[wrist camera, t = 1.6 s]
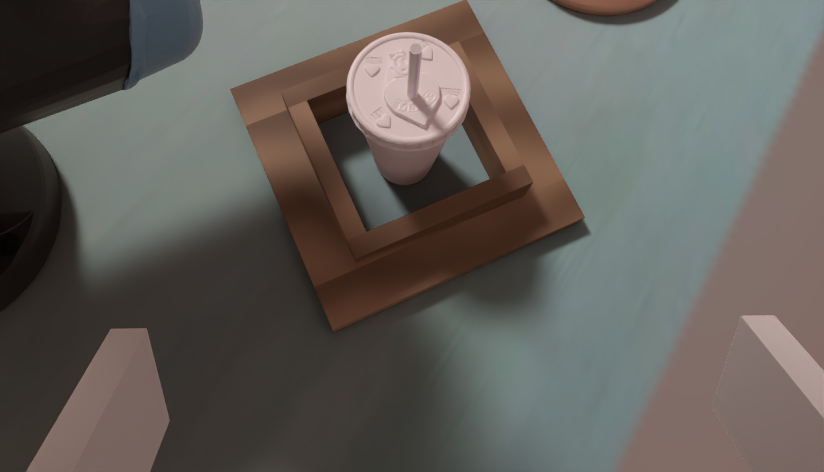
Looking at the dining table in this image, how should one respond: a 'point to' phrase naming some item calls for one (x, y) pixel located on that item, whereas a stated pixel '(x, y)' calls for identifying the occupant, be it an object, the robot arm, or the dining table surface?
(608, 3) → the coaster
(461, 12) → the cup holder
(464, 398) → the dining table surface
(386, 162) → the smoothie
